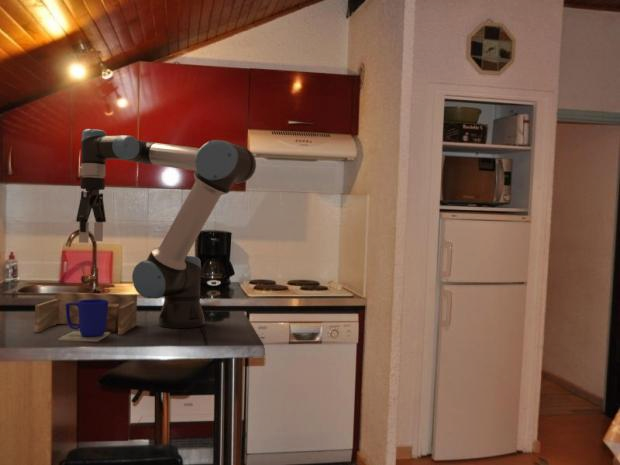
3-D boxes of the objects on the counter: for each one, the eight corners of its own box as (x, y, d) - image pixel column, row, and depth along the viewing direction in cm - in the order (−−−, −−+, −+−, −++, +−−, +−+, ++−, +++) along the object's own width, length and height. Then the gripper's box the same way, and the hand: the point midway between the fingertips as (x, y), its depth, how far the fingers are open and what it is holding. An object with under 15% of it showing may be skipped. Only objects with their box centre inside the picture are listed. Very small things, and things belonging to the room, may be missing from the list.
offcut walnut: (122, 329, 185) (123, 316, 185) (114, 333, 178) (114, 320, 178) (104, 328, 186) (104, 315, 185) (95, 332, 178) (95, 319, 178)
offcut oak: (118, 316, 185) (119, 303, 185) (116, 319, 180) (117, 306, 179) (102, 316, 184) (102, 303, 184) (99, 319, 178) (100, 306, 178)
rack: (136, 325, 191) (137, 294, 191) (121, 334, 175) (122, 301, 175) (56, 322, 191) (56, 292, 190) (34, 332, 175) (35, 298, 175)
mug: (71, 331, 174) (72, 298, 174) (111, 333, 174) (112, 299, 174) (59, 337, 166) (60, 301, 166) (100, 338, 165) (101, 303, 165)
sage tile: (110, 334, 175) (110, 332, 175) (97, 341, 164) (97, 339, 164) (73, 333, 175) (73, 331, 175) (58, 340, 164) (58, 338, 164)
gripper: (94, 179, 204) (92, 240, 205) (66, 173, 179) (64, 242, 180) (116, 180, 204) (114, 241, 205) (91, 174, 179) (89, 243, 180)
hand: (91, 242), depth 192 cm, fingers open, 13 cm apart
